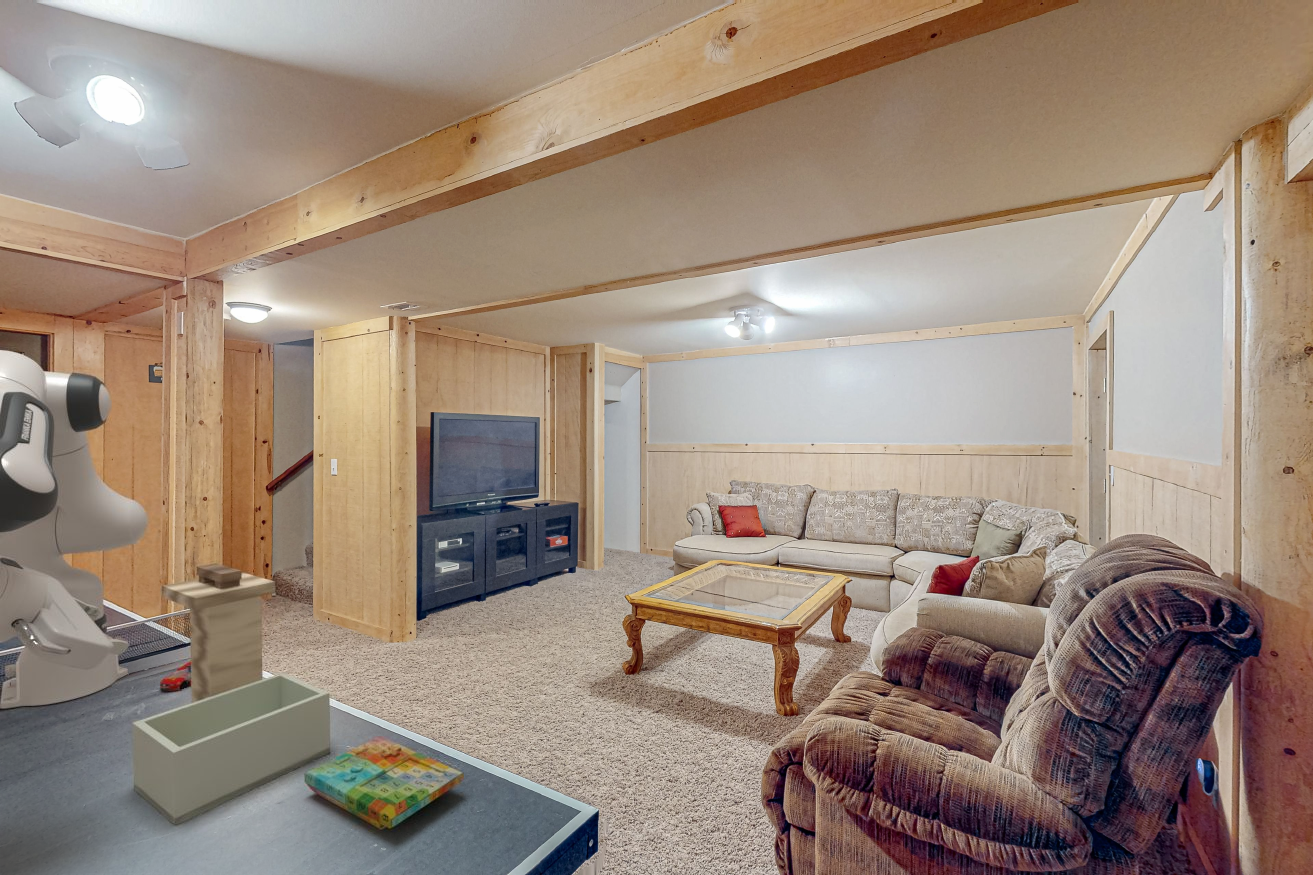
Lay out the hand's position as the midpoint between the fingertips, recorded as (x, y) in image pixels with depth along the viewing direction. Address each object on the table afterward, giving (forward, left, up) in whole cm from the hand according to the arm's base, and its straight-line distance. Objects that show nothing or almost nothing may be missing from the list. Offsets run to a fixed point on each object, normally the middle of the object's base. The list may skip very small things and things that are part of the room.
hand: (109, 630), depth 86 cm
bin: (+8, +13, -24) cm, 29 cm away
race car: (-37, +23, -25) cm, 50 cm away
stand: (-9, +17, -24) cm, 31 cm away
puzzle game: (+34, +21, -25) cm, 47 cm away
